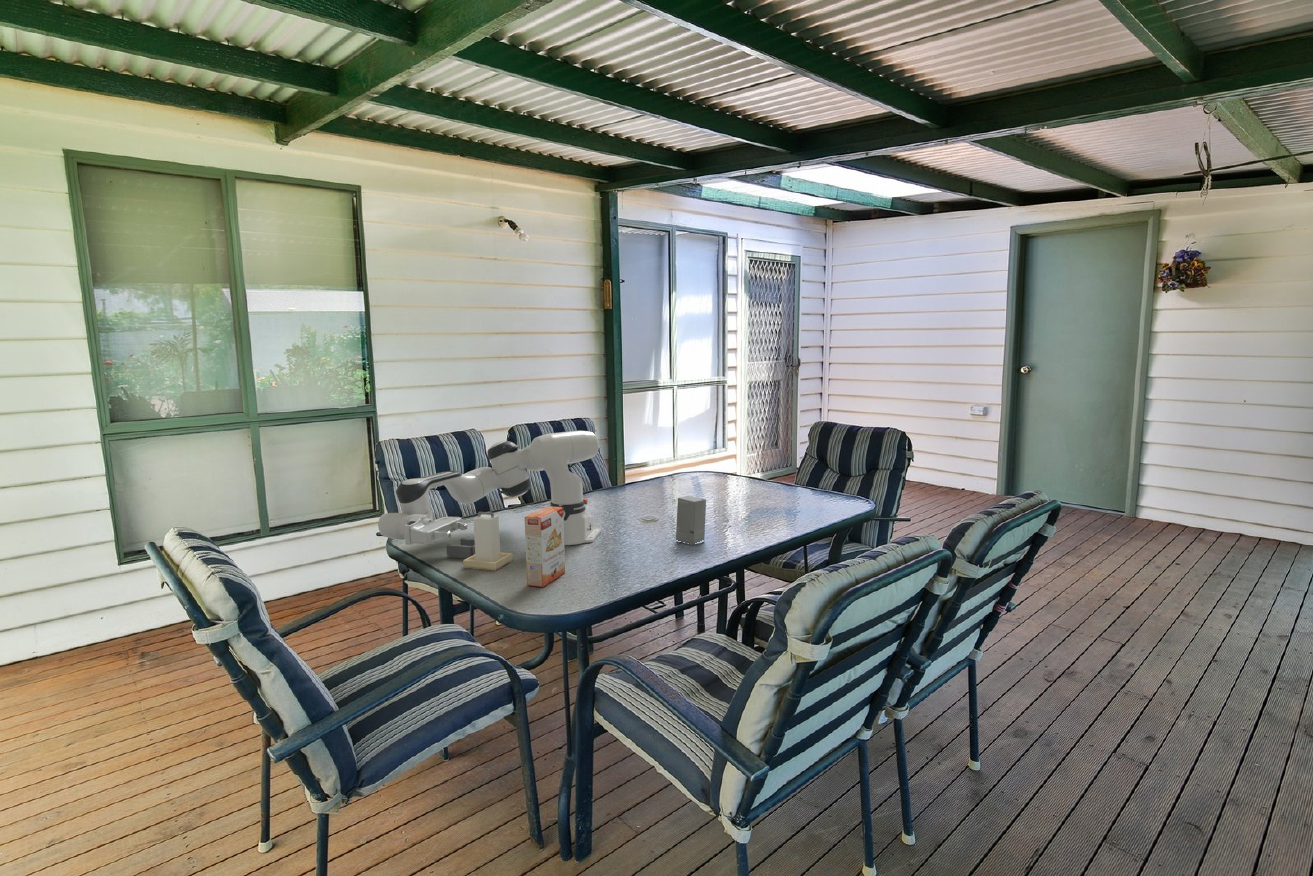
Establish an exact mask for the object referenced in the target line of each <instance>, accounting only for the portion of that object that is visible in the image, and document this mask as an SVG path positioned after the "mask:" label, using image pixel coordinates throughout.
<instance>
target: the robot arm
mask: <svg viewBox="0 0 1313 876" xmlns="http://www.w3.org/2000/svg"><path fill="white" fill-rule="evenodd" d="M599 448H600V442H599V439H598V437H597V436H596V434H595V433H594V432H592V431H589V430H588V431H587V430H571V431H562V432H552V433H546V434H542V435H539V436H536V437H534V438H533V440H532V441H531V442H530V444H528V445H527V446H526V447H524V448H522V449H520V444H515V443H514V442H512V441H510V440H506V441H505V440H500V441H497V442H495V443H493V444H492V445H491V446H490V448H488V449H487V457H488V461H490V464H491V467H490V466H482V467H478V468H475V469H473V470H470V471H467V472H466V473H462V472H461V471H460V470H447V471H441V472H437V473H434V474H433V473H432V474H429V475H426V476H425V475H424V476H422V477H416V478H409V479H405V480H403V481H401V482H400V483H399V485H398V486H397V488H396V490H395V493H396V497H397V500H398V502H399V505H400V506H399V507H400V511H401V512H388V513H383V514H382V515H380V517H379V519H378V524H377V525H378V530H379V533H380V535H381V536H382V537H385V538H388V539H394V540H401V541H403V540H404V541H405V544H406V545H413V544H416V545H417V544H419V545H421V544H424V545H425V544H428V543H431V542H433V541H435V540H437V539H447V538H450V537H451V533H453V532H455V531H459V530H460V531H466V530H467V529H469V528H468V524H467V523H463V519H462V517H460V516H442V517H439V518H437V519H434V515H433V510H432V506H431V502H430V496H429V492H430V490H431V489H434V488H438V487H441V486H444V487H445V488H446V490H447V491H448V493H449V495H450V496H451V498H453V499H454V500H455V501H456V502H458V503H460V504H463V505H469V504H473V503H475V502H477V501H479V500H481V499H483V498H485V497H486V496H487V495H490V493H491V492H493V491H495V490H498V489H499V490H500V491H499V492H498V493H499V494H500V495H501V494H503V495H504V496H506V497H509V498H517V497H521V496H523V495H524V494H526V493H527V492H528V491H529V490H530V489H531V487H532V483H531V478H530V477H529V475H528V472H527V470H528V471H532V472H540V471H545V473H546V475H547V477H548V480H549V484H550V485H549V487H550V494H551V497H550V498H551V501H550V507H562V508H564V546H571V545H572V546H573V545H580V544H585V543H586V544H587V543H593V542H595V540H596V539H597V537H598V536H599V535H600V533H601V532H602V530H601V528H598V527H595V519H594V518H595V517H594V516H593V515H591V513H589V512H588V510H586V505H588V501H589V500H588V498H584V496H583V495H584V494H583V491H584V490H583V481H582V479H581V477H580V476H579V475H577V474H576V473H574V472H571V471H570V469H569V466H568V465H572V464H575V463H580V462H584V461H587V460H589V459H592V458H595V457H596V456H597V454H598V453H599V450H600V449H599Z"/></svg>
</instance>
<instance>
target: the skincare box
mask: <svg viewBox="0 0 1313 876" xmlns="http://www.w3.org/2000/svg"><path fill="white" fill-rule="evenodd" d="M676 508H677V512H676V529H675V530H676V531H675V532H676V533H675V541H676V540H678V541H681V542H685V543H689V544H695V543H697V542H700V541H702V540H704V541H705V536H706V535H705V534H706V515H707V514H706V512H707V510H706V509H707V499H706V498H701V497H698V496H692V495H684V496H680V497H679V496H678V497H677V507H676ZM689 544H688V545H689Z"/></svg>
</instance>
